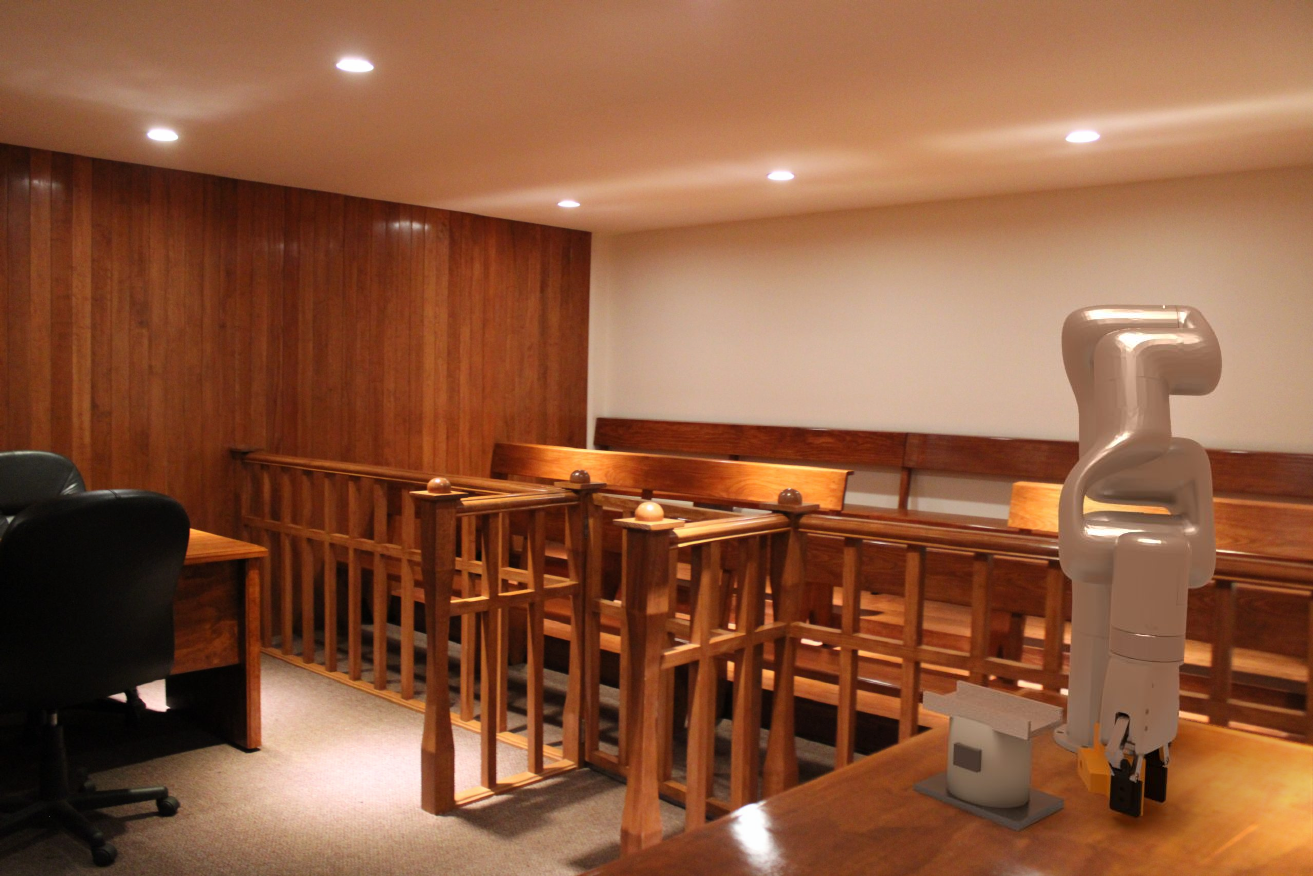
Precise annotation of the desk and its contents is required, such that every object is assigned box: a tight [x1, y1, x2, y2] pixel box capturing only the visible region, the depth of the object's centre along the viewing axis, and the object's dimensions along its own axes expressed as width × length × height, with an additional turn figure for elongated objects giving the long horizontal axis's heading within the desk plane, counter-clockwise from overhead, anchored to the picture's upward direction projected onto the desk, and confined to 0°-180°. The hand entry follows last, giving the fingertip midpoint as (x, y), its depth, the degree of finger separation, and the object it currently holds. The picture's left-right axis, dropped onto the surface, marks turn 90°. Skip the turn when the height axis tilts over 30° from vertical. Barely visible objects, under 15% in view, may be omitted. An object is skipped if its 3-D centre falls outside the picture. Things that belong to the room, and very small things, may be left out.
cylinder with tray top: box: [912, 680, 1065, 832], centre depth 115 cm, size 10×13×12 cm
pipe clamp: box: [1077, 723, 1146, 817], centre depth 119 cm, size 12×4×6 cm, turn 169°
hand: (1137, 804), depth 113 cm, fingers open, 5 cm apart
